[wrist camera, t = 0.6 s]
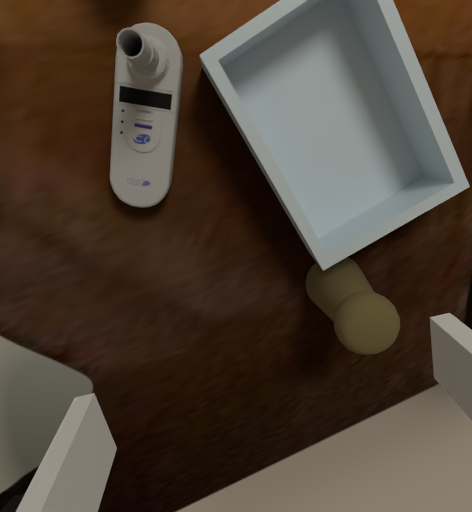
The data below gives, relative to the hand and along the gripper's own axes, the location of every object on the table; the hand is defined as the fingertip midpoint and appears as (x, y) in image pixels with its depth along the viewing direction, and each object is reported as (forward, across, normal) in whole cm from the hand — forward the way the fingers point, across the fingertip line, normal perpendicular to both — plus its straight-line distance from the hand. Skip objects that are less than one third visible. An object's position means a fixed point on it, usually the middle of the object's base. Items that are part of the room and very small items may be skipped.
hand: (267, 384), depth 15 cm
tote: (+25, +10, +8) cm, 28 cm away
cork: (+25, +9, -8) cm, 28 cm away
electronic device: (+25, -6, +11) cm, 28 cm away
